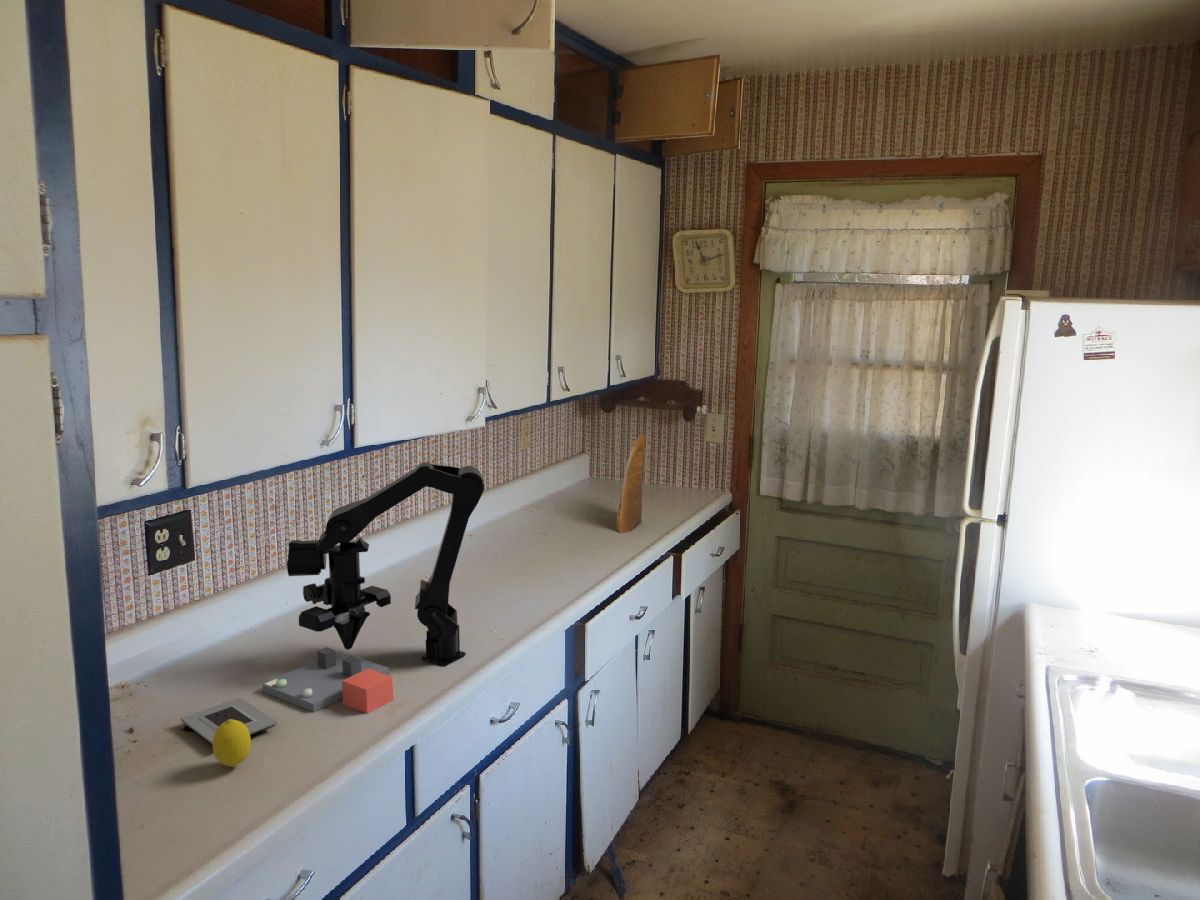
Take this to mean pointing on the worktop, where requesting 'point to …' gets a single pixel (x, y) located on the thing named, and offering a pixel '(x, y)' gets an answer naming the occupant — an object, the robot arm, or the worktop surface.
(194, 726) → the electrical outlet
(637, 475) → the wooden fin shape
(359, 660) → the dark grey small block
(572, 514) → the worktop surface
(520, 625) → the worktop surface
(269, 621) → the worktop surface
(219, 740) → the lemon
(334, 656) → the dark gray block
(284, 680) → the panel
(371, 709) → the cap
